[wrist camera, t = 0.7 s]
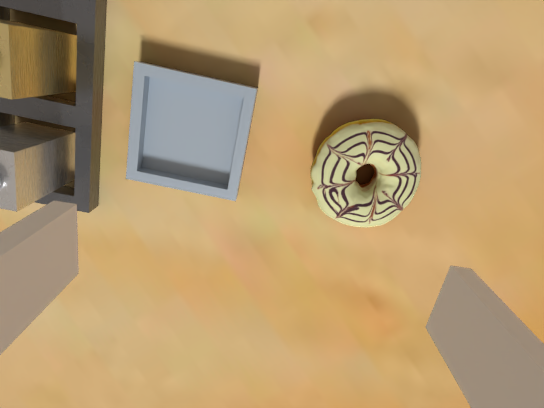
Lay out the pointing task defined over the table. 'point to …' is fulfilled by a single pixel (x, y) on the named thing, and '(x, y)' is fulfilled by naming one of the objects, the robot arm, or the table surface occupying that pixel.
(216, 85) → the parts tray
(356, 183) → the decorated donut
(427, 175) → the table surface
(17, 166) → the grey knobbed block
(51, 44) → the gold block with knob
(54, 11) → the rail
